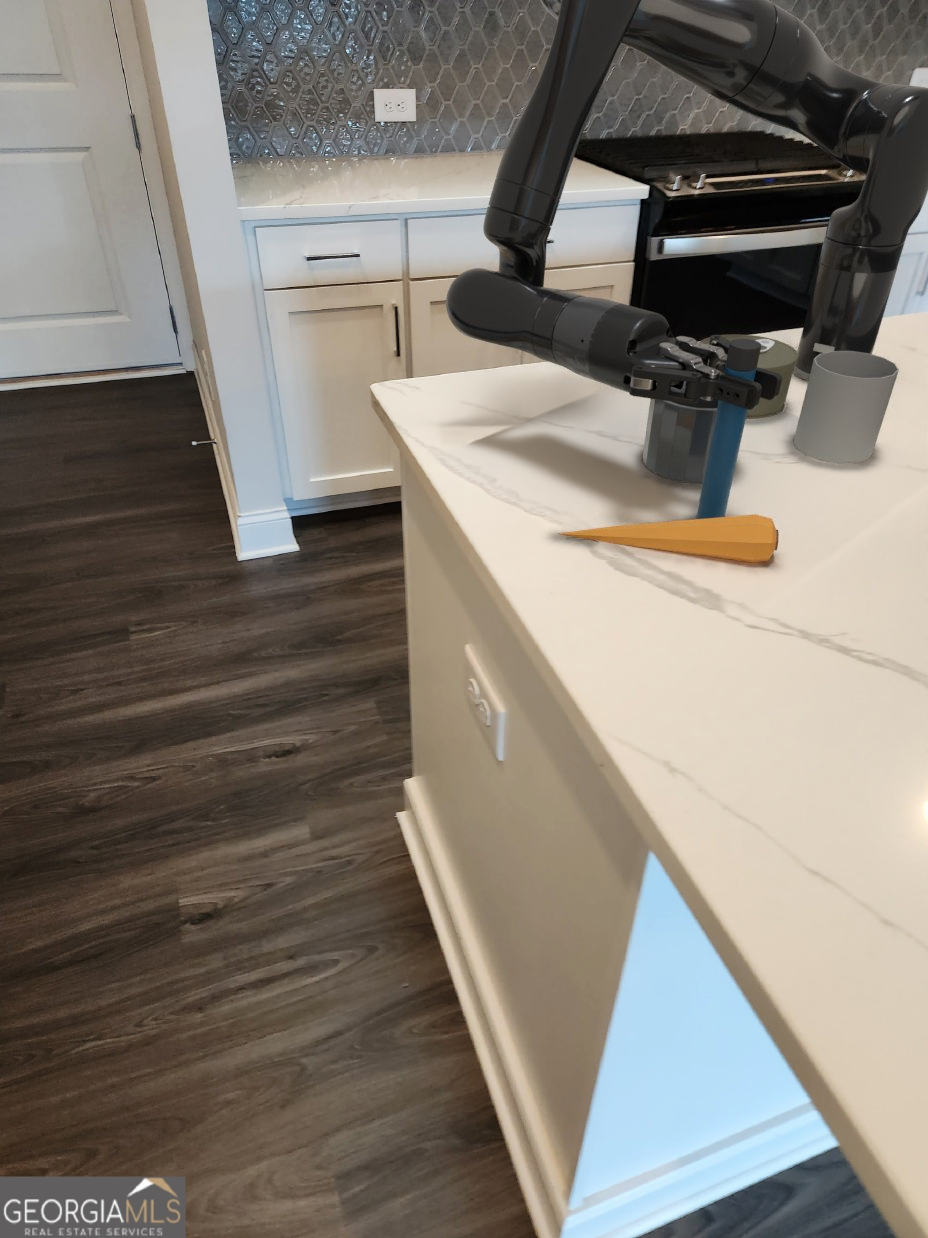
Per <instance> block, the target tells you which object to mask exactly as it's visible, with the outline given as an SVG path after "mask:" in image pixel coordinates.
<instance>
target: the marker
mask: <svg viewBox="0 0 928 1238" xmlns="http://www.w3.org/2000/svg"><path fill="white" fill-rule="evenodd" d="M760 350H761V344H760V343H759V342H757V341H755V340H750V339H735V340H732V341H731V342H730V344H729V350H728V355H727V360H726V366H725V370H724V373H728V374H731V375H734V376H738V377H741V378H744V379H748V380H751V381H754V378H755V373H756V368H757V364H758V359H759V355H760ZM746 415H747V409H744V408H741V407H738V406H735V405H732V404H729V403H726V402H723V401H720V400H719V402H718V407H717V412H716V417H715V422H714V428H713V433H712V438H711V443H710V448H709V454H708V459H707V464H706V469H705V474H704V480H703V483H702V485H701V490H700V496H699V500H698V505H697V510H696V511H697V512H696V515H695V516H696V517H695V519H706V518H719V517H726V513H727V507H728V502H729V498H730V493H731V489H732V484H733V480H734V474H735V470H736V466H737V461H738V456H739V452H740V447H741V442H742V437H743V433H744V428H745V423H746V420H747V419H746Z"/></svg>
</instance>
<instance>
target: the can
mask: <svg viewBox="0 0 928 1238" xmlns="http://www.w3.org/2000/svg"><path fill="white" fill-rule="evenodd" d="M719 335H720V336H722V337H724V338H726V339H727V340H729V341H732V340H735V339H750V340H755V341H757V342H759V343H760V344H761V350H760V355H759V359H758V364H757V367H758V368H762V369H765V370H769V371H772V372H775V373H778V374H780V375H781V377H782V382H781V386H780V390H779V394H778V396H777V397H776V398H774V399H772V400H767V399H764V398H761V397H760V400H759V404H758V406H757V407H755V408H753V409H751V410H747V415H746V420H757V419H758V420H759V419H766V418H770V417H773V416H776V415H778V414H780V413H783V412H784V409H785V405H786V404H785V403H786V400H787V397H788V393H789V389H790V385H791V381H792V377H793V374H794V371H793V369H794V366H795V363H796V362H797V359H798V353H797V352H798V350H796V349H795V348H794V347H793V346H791V345H789V344H787V343H785V342H783V341H780V340H777V339H774V338H770V337H766V336H760V335H752V334H742V333H741V334H740V333H739V334H738V333H737V334H735V333H734V334H733V333H732V334H719ZM698 342H699V343H703V344H709V342H710V336H709V337H705V338H704V339H702V340H700V341H698ZM720 373H721V374H723V373H722V372H720Z"/></svg>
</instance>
